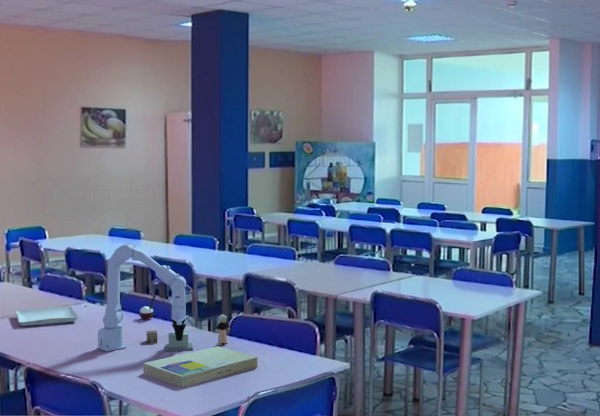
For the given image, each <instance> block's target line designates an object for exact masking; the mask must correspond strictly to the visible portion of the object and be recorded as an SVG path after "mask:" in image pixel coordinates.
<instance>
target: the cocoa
mask: <svg viewBox="0 0 600 416" xmlns="http://www.w3.org/2000/svg"><path fill="white" fill-rule="evenodd" d="M155 300H156V295H153V296H152V300H151V301H150V305H149V306H145V305H144V306H143V307H141V308H140V309H139V312H138V316H139V317H140V319H141V320H143V319H149V318H151V319H152V318H153V315H154V309H153V305H154V302H155Z"/></svg>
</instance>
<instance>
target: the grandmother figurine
mask: <svg viewBox="0 0 600 416" xmlns="http://www.w3.org/2000/svg"><path fill="white" fill-rule="evenodd" d="M227 319H228V317H227V315H225V314H220V315H219V317H218V320H219V323H218V325H217V326H216V328H215V330H214V333H215V334H217V333H218V335H217V336H218V337H217V338H218V339H217V346H222V343H223V345H227V344H228V341H227V340H228V338H227V330H228V331H231V327H230V325H229V323H227ZM226 343H227V344H226Z"/></svg>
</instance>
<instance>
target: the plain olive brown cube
mask: <svg viewBox="0 0 600 416" xmlns="http://www.w3.org/2000/svg"><path fill="white" fill-rule="evenodd" d="M157 343H158V330H146V344H157Z"/></svg>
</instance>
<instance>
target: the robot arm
mask: <svg viewBox="0 0 600 416" xmlns="http://www.w3.org/2000/svg"><path fill="white" fill-rule="evenodd" d="M130 259H131V261H139V262H141V263H143V265H145V266H147V267H148V268H150V269H151V270H152V271H154V272H155V276H156V277H157V278H158V279H159V280H161V281H162V282H164V283H165V284H166V285H167V286H169V287H170V289H171V316H170V317H171V322H172V323H171V325H172V328H173V331H174V333H175V335H176V340H177V341H182V337H183V333H185V332H184V331H185V328H186V327H187V323H185V322H186V319H189V315H186V314H187V313H186V311H187V310H186V307H187V306H186V304H187V302H186V301H187V300H186V295H187V294H186V286H187V280H186V279H185V277H184V276H183V275H180V274H179V273H176V272H175V271H173V269H171V266H170V265H165V264H163V265H160V264H159V263H158V262H157V261H156V260H155V259H154V258H152V257H151V256H150V255H149V254H148V253H146V252H145V251H144V250H143V249H142V248H141V247H139V246H136V245H135V244H134V243H132V242H126V243H124V244H123V245H120V246H119V247H117V248H116V249H115V250H114V252H113V253H112V255H111V256H110V258H109V259H108V261H107V286H106V287H107V296H106V297H107V299H106V300H107V301H106V303H107V305H106V306H105V310H104V311H105V313H104V316H103V318H102V322H103V326H104V327H103V328H100V329H98V332H97V349H99V350H102V351H104V352H110V351H116V350H121V349H122V350H123V349H126V348H127V346H126V345H124V344H123V323H122V321H123V320H124V314H123V311H122V304H121V303H120V302H121V300H120V299H121V265H123V264H124V263H126V261H128V260H130Z"/></svg>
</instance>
